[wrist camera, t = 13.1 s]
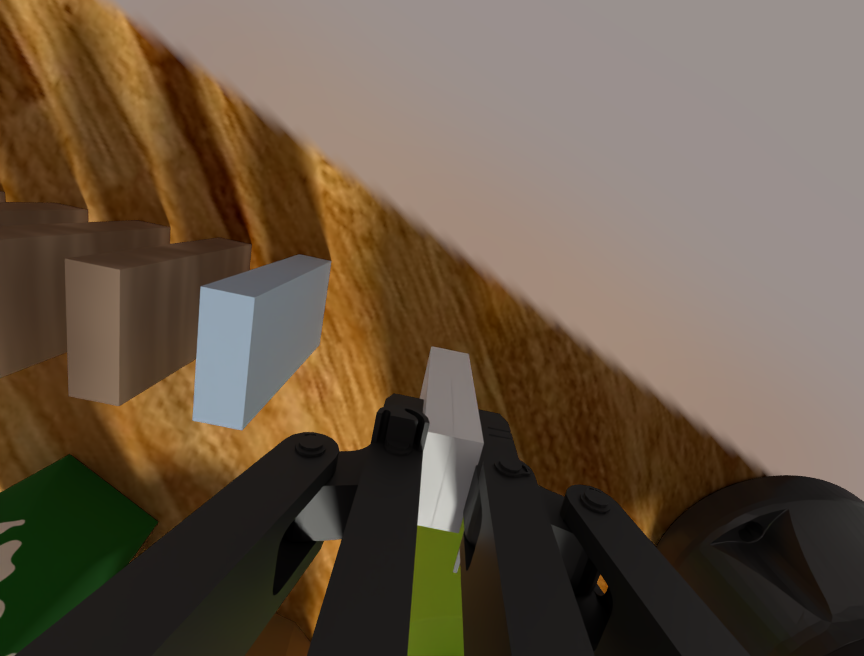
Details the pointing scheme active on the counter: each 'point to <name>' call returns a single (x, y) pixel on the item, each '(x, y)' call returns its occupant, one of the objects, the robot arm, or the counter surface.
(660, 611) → the robot arm
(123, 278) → the domino
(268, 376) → the domino
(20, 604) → the milk carton
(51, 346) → the domino
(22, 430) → the counter surface
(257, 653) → the flowerpot
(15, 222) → the domino
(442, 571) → the soap dispenser
